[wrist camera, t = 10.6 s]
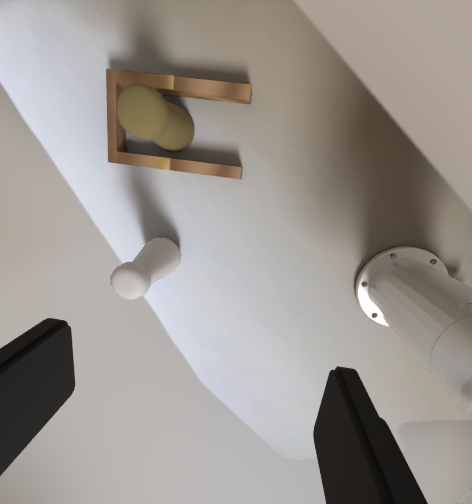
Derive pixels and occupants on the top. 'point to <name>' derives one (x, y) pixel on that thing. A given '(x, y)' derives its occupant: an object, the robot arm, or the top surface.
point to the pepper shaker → (154, 118)
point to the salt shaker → (145, 268)
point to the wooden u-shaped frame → (175, 88)
